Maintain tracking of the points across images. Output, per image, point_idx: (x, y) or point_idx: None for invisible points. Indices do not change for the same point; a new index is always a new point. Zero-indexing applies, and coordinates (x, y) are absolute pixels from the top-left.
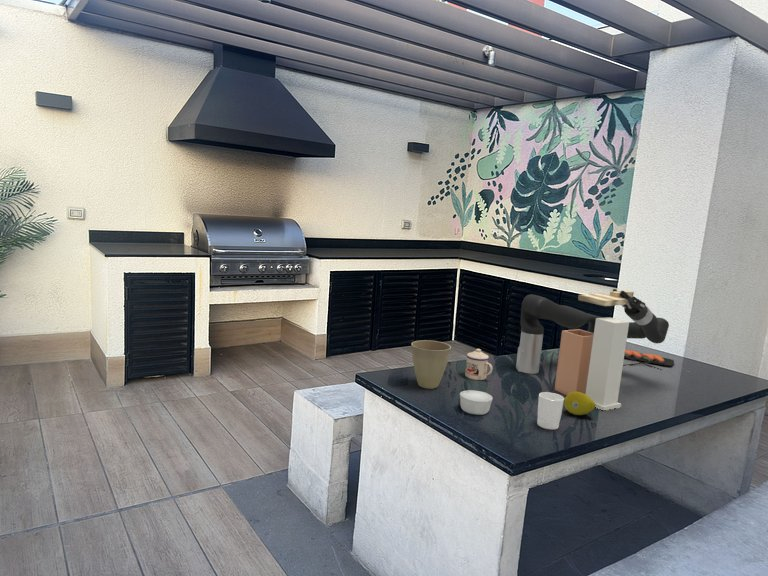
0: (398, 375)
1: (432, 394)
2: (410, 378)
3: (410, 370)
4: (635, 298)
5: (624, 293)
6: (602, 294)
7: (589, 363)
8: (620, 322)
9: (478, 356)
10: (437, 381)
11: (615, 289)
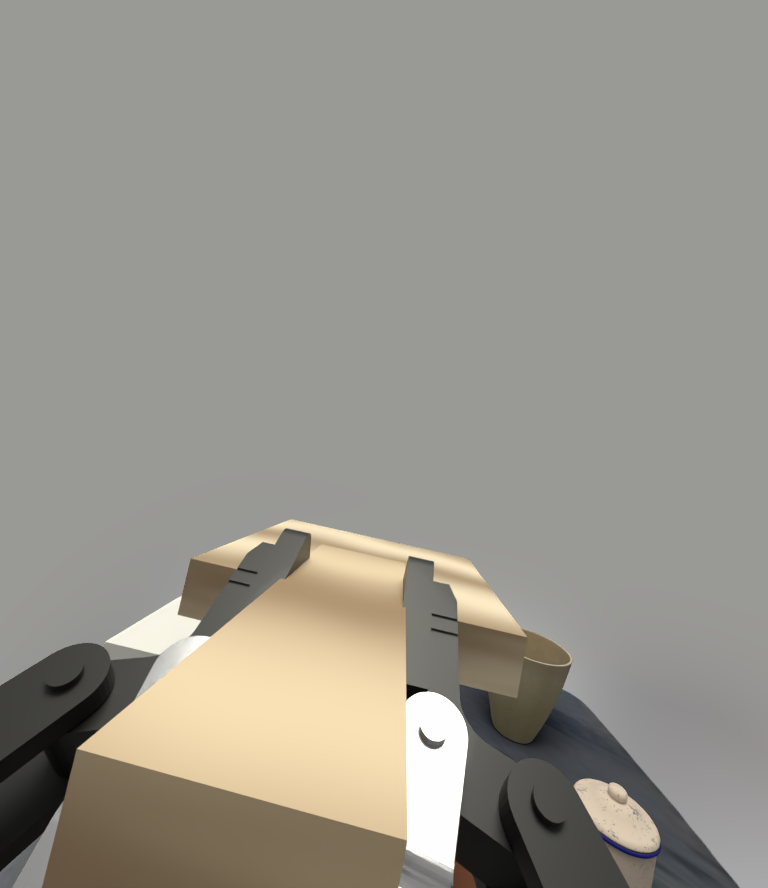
0: (578, 731)
1: (462, 703)
2: (559, 734)
3: (625, 771)
4: (27, 686)
5: (257, 558)
6: (460, 610)
7: None
8: (166, 608)
9: (584, 786)
10: (491, 709)
11: (408, 561)
